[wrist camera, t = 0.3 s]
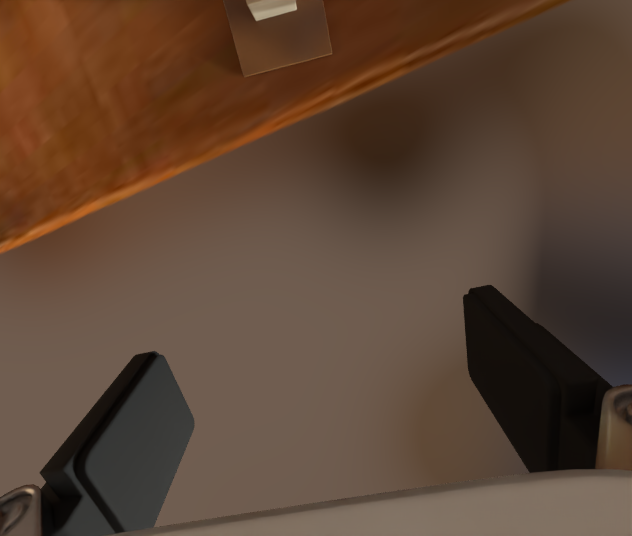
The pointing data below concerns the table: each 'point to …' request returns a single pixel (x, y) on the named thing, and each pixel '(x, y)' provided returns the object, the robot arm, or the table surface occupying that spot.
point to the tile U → (270, 7)
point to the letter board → (278, 36)
